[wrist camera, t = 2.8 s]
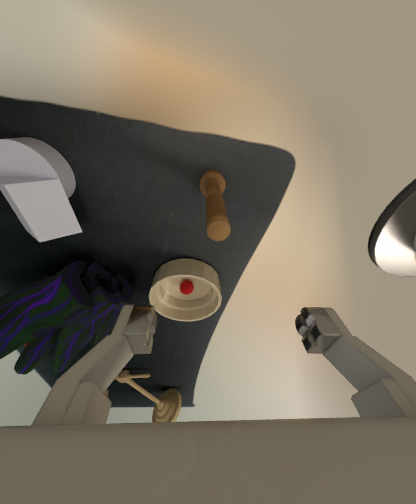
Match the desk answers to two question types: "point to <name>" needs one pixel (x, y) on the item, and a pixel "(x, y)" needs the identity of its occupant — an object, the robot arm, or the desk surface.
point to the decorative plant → (61, 314)
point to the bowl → (181, 305)
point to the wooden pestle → (215, 205)
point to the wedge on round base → (38, 187)
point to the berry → (186, 287)
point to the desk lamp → (164, 406)
